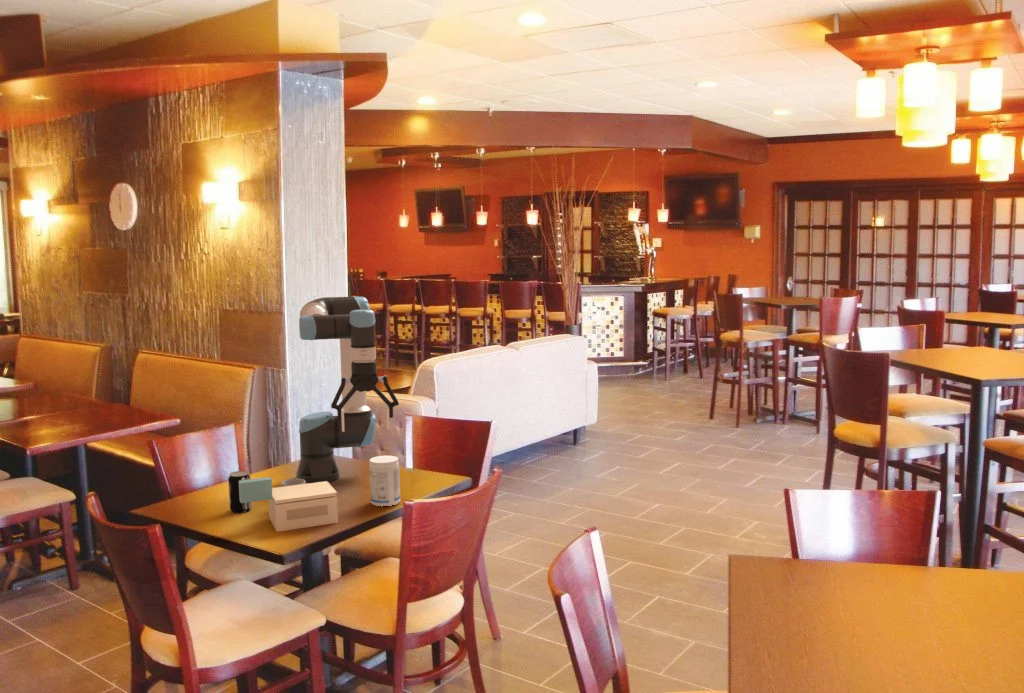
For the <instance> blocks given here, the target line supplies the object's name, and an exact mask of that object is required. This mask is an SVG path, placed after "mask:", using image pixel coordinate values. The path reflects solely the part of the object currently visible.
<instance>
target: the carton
mask: <svg viewBox="0 0 1024 693" xmlns="http://www.w3.org/2000/svg"><path fill="white" fill-rule="evenodd" d="M267 501H268V502H267V503H268V519H269V521H271V524H272V525H273V527H274V529H275V531H276V532H284V531H285V532H286V531H291V530H292V531H293V530H298V529H305V528H311V527H317V526H324V525H331V524H338V523H339V512H338V509H339V508H338V495H337V496H331V497H323V498H316V499H309V500H301V501H294V502H286V503H279V504H275V502H274V501H273V499H269V500H267Z"/></svg>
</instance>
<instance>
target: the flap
mask: <svg viewBox="0 0 1024 693" xmlns="http://www.w3.org/2000/svg"><path fill="white" fill-rule="evenodd" d="M338 495H339V493H338V492H337V490H336V489H335V488H334V487H333V486H332V485H331V483H330V482H327V481H324V482H316V483H305V484H300V485H293V486H285V487H281V486H278V487H273V482H272V478H271V476H267V477H259V478H257V477H256V478H250V479H249V480H241V481H239V498H240V502H241V503H247V502H252V503H253V502H262V501H268V500H269V499H273V501H274V502H275V504H279V503H286V502H294V501H301V500H309V499H316V498H323V497H331V496H337V497H338Z"/></svg>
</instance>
